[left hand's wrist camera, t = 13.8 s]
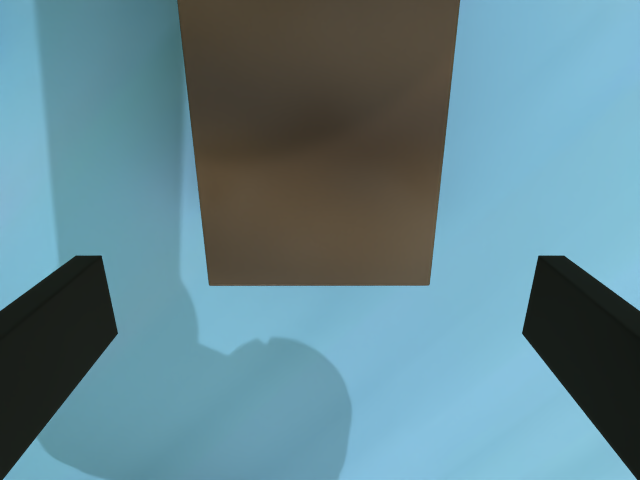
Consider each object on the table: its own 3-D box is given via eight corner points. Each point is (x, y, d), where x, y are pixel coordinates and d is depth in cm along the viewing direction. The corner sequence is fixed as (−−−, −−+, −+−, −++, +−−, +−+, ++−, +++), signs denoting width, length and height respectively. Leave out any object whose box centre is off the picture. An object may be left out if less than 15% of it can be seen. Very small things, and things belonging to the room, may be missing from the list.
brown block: (217, -63, 22) (160, -140, 14) (421, -64, 22) (476, -141, 14) (239, 228, 28) (208, 286, 21) (399, 228, 28) (430, 286, 20)
